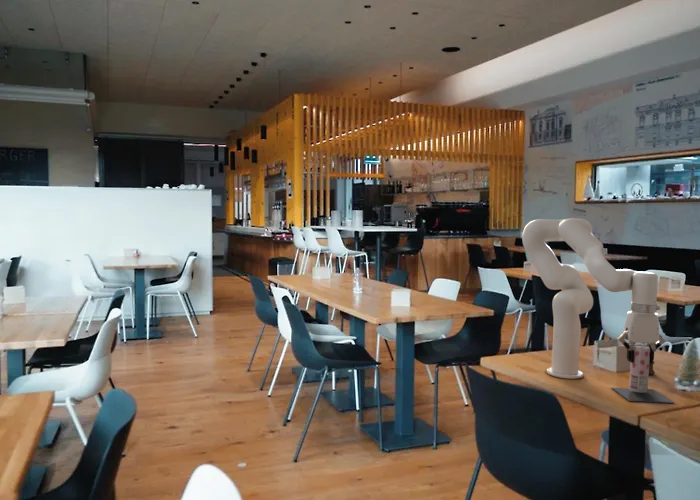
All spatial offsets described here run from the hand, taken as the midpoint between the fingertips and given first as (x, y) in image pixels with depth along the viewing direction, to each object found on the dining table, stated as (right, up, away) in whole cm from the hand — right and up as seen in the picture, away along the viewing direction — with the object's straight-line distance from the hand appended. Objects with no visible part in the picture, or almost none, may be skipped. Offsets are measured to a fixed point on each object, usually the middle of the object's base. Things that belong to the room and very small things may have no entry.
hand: (639, 361), depth 200 cm
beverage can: (0, -10, +1) cm, 10 cm away
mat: (-1, -11, -3) cm, 11 cm away
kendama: (+15, -10, +26) cm, 31 cm away
